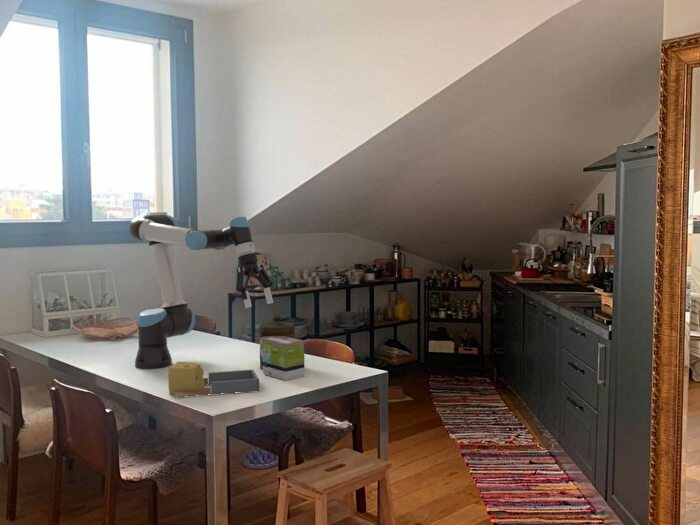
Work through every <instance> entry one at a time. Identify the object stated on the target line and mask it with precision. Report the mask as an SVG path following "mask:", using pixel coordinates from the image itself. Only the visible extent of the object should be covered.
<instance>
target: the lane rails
mask: <svg viewBox="0 0 700 525" xmlns="http://www.w3.org/2000/svg"><path fill="white" fill-rule="evenodd" d="M203 379H204V382H205V385H204V386H208V385H209V377H203ZM207 384H208V385H207ZM208 394H211V387H204V388H199V389H186V390H175V395H174V398H175V397H181V398H186V397H185V396H194V397H197V396H196V395H207V396H209V395H208ZM211 395H212V394H211Z"/></svg>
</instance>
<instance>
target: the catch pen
mask: <svg viewBox="0 0 700 525" xmlns="http://www.w3.org/2000/svg"><path fill="white" fill-rule="evenodd" d="M207 375H208V385H209V384H211V385H210V386H211V387H210V388H211V395H212V394H220V395H222V394H221V393H233V394H236V393H235V392H245V393H249V392H248V391H258V392H260V378H259V377H258V375H257V373H256V372H255V370H254V369H242V370H240V369H239V370H227V371H215V372H211V371H210V372H208V374H207Z"/></svg>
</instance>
